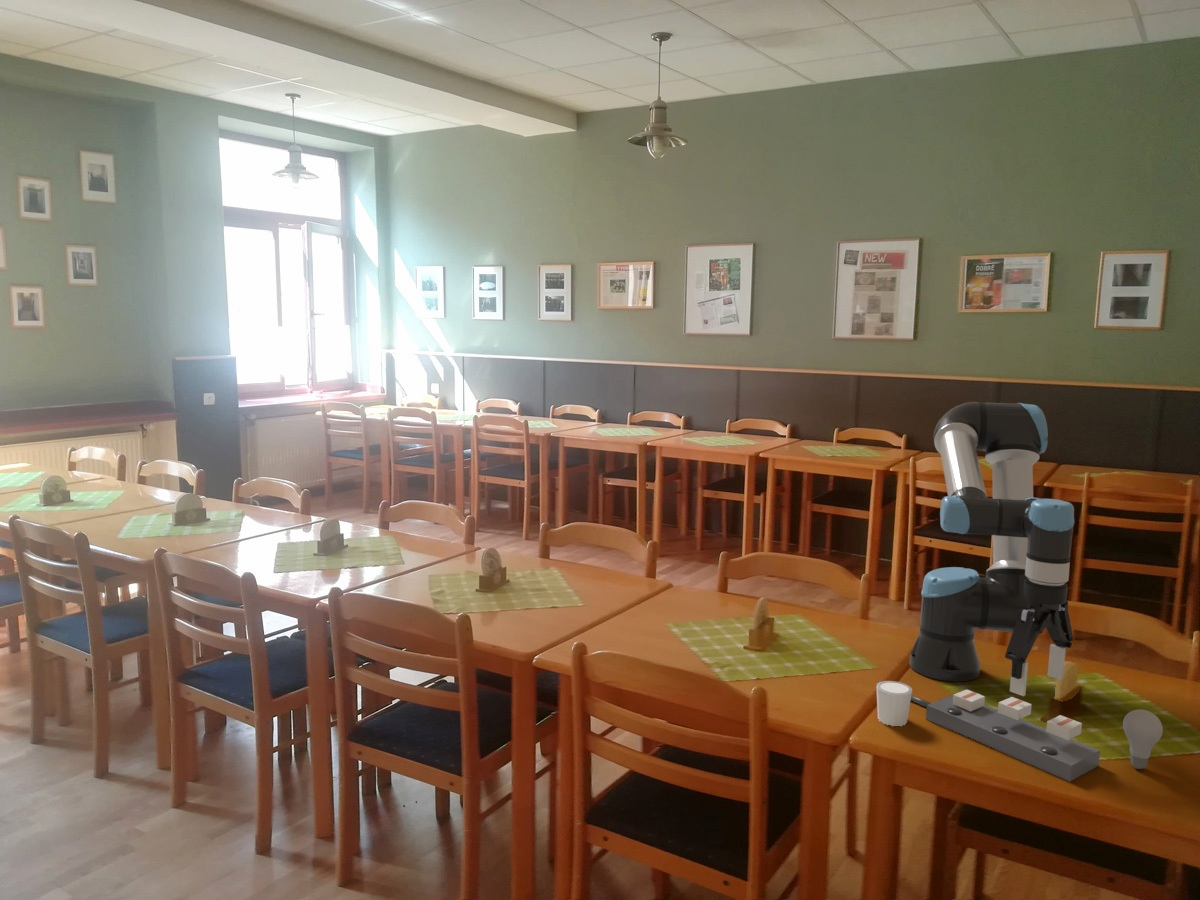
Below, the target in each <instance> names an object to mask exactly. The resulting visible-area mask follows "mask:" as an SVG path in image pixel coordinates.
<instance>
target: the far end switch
mask: <svg viewBox="0 0 1200 900" xmlns="http://www.w3.org/2000/svg"><path fill="white" fill-rule="evenodd" d="M1082 728H1083V723H1082V722H1080V721H1077V720H1074V719H1072V718H1069V717H1066V716H1064V715H1061V714H1059V715H1057V716H1056V717H1053V718H1051V719H1049V720H1047V721H1046V728H1045V729H1046V732H1048V733H1051V734H1054V735H1056V736H1059V737H1061V738H1064V739H1066V740H1069V739H1074V738H1076V737H1077V736H1079V735H1081V734H1082Z"/></svg>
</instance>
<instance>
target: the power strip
mask: <svg viewBox="0 0 1200 900" xmlns="http://www.w3.org/2000/svg"><path fill="white" fill-rule="evenodd" d="M953 695H954V694H952V695H950V696H949V695H948V696H947V697H944V698H942V699H939V700H937V701H933V702H930V701H928V700H925V699H922V698H920V697H918V696H915V695H913V694H911V700H910V702H912V701H913V703H915V704H918V705H920V706H921V707H922V706H923V707H925V708H926V712H925V720H927V719H928V720H927V721H929V722H930V723H933V722H934V724H936V725H938V726H940V725H941V726H940V727H943V728H945V729H948V730H950V731H952V730H953V731H952V732H954V731H955V732H954V733H956V732H957V734H959V733H960V734H959V735H961V734H962V735H961V736H963V735H964V736H963V737H966V738H968V737H969V738H968V739H970V738H971V740H973V739H974V740H973V741H975V740H976V741H975V742H977V741H978V742H977V743H979V742H981V743H980V744H982V743H983V744H982V745H984V744H985V745H984V746H986V745H988V746H987V747H989V748H991V747H992V748H991V749H993V748H994V749H993V750H996V751H999V752H1001V753H1003V754H1004V755H1007V756H1009V757H1012V758H1014V759H1016V760H1019V761H1021V762H1023V763H1026V764H1028V765H1029V766H1033V767H1034V768H1037V769H1040V770H1042V771H1044V772H1047V773H1049V774H1051V775H1053V776H1056V777H1058V778H1060V779H1063V780H1065V781H1067V782H1069V783H1070V782H1072V781H1074V780H1075V779H1077V778H1079V777H1081V776H1083V775H1084V774H1086V773H1089V772H1090V771H1092V770H1094V769H1095V768H1097V767H1099V766H1100V765H1099V764H1100V755H1101V750H1100V749H1098V748H1095V747H1093V746H1090V745H1087V744H1085V743H1082V742H1080V741H1077V740H1075V739H1074V738H1071V739H1069V740H1066V739H1064V738H1061V737H1059V736H1056V735H1054V734H1051V733H1048V732H1046V728H1044V727H1042V726H1040V725H1037V724H1035V723H1032V722H1029V721H1027V720H1024V719H1023V718H1021V719H1019V720H1016V719H1013V718H1011V717H1008V716H1006V715H1003V714H1001V713H998V708H993V707H991V706H989V705H986V704H984V706H983V707H980V708H978V709H976V710H973V711H968V710H966V709H963V708H961V707H958V706H956V705H954V704H953Z"/></svg>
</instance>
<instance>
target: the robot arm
mask: <svg viewBox="0 0 1200 900" xmlns="http://www.w3.org/2000/svg"><path fill="white" fill-rule="evenodd" d="M1048 430H1049V429H1048V423H1047V420H1046V416H1045V414H1044V412H1043V410H1042V409H1041V407H1039V406H1038V405H1036V404H1029V403H1022V402H1017V403H1015V402H1014V403H1013V402H1012V403H1011V402H1007V403H1006V402H980V401H979V402H978V401H970V402H964V403H962V404H958V405H956V406H955V407H953V408H950V410H948V411H947V412H946V413H945V414H943V416H942V417H941V418H940V419H939V420H938V421H937V424H936V425H935V428H934V431H933V444H934V447H935V450H936V451H937V452H938V453H939V454H940V457H941V458H940V459H941V462H942V463H941V464H942V469H943V475H944V480H945V486H946V493H947V496H943V498H942V499H941V502H940V508H939V509H940V510H939V517H940V520H939V521H940V523H939V524H940V527H941V529H942V530H943V531H944V532H947V533H957V534H960V535H980V536H981V535H982V536H983V535H985V536H992V560H993V561H992V565H991V566H990V567H989V568H987V569H986V571H985V577H981V576H980V574H979V572H978V571H977V570H975V569H972V568H965V567H959V566H958V567H957V566H951V567H950V566H949V567H940V568H936V569H933V570H931V571H929V572H927V573H926V574H925V575H924V578H923V582H922V589H921V591H920V592H921V593H920V594H921V609H920V618H919V619H920V620H919V621H920V622H919V631H918V632H919V633H918V635H917V638H916V640H915V643H914V644H913V647H912V649H911V652H910V653H909V654H910V655H909V666H910V668H911V669H912V671H915V672H916V673H917V674H919V675H922V676H924V677H928V678H931V679H935V680H940V681H947V682H969V681H973V680H975V679H977V678H978V677H979V676H980V671H981V664H980V663H981V662H980V659H979V655H978V651H977V648H976V645H975V630H983V631H996V632H997V631H999V632H1007V633H1011V636H1010V639H1009V643H1008V646H1007V648H1006V651H1005V654H1004V657H1005V659H1007V660H1011V669H1010V682H1009V683H1010V684H1009V692H1011V693H1014V694H1016V695H1019V696H1021V697H1024V696H1026V691H1027V678H1028V671H1029V670H1028V667H1029V662H1027V661H1026V660H1027V659H1028V657H1029V656H1030V655H1029V654H1030V652H1031V650H1032V648H1033V646H1034V644H1035V643H1036V640H1037V638H1038V636H1039V635H1040V634H1042V633H1043V632H1044V630H1046V629H1047V632H1048V635H1049V636H1050V638H1051V641H1052V644H1050V645H1049V652H1048V653H1049V655H1048V665H1047V667H1048V668H1047V677H1050V678H1054V679H1057V680H1059V681H1063V680H1064V670H1065V662H1066V661H1065V660H1066V648H1067V649H1068V648H1069V649H1071V648H1072V647H1073V641H1074V636H1073V631H1072V625H1071V620H1070V615H1069V601H1068V599H1067V596H1068V587H1069V585H1068V584H1067V582H1069V578H1070V563H1071V552H1072V551H1071V550H1072V545H1073V544H1072V543H1073V542H1072V540H1073V533H1074V525H1075V508H1074V505H1073V504H1072V503H1071V502H1068V501H1064V500H1062V499H1061V500H1060V499H1054V498H1039V497H1034V480H1033V479H1034V475H1033V473H1034V472H1033V466H1034V465H1035V464H1036V463H1038V461H1039V460H1040V455H1041V454H1044V453H1045V452H1046V450H1047V447H1048V435H1049V434H1048V433H1049V432H1048ZM977 451H978V452H985V454H984V455H985V456H984V457H985V461H986V462H988V463H989V464H990V466H992V469H991V470H992V498H991V497H990V498H989V497H988V495H987V491H986V486H985V482H984V479H983V474H982V470H981V466H980V461H979V458H978V457H979V456H978V453H977Z"/></svg>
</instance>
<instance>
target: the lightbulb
mask: <svg viewBox="0 0 1200 900" xmlns="http://www.w3.org/2000/svg"><path fill="white" fill-rule="evenodd" d="M1122 727H1123V731H1124V734H1125V736H1126V738H1127V740H1128V746H1129V753H1130V764H1131V766H1133V767H1134V769H1137V770H1142V769H1143V770H1144V769H1146V768H1147V766H1148V761H1149V758H1150V757H1151V753H1152V750H1153V748H1154V746H1155V745H1156V744H1157V743H1158V742H1159V741H1160V740H1161V738H1162V736H1163V731H1164V729H1163V728H1164V727H1163V724H1162V721H1161V720H1160V719H1159V717H1158V716H1157V715H1156V714H1154V712H1153V713H1152V712H1151V711H1149V710H1147V709H1134V710H1132V711H1129V712H1128V713H1127V714H1126V715H1125V716H1124V718H1123V721H1122Z"/></svg>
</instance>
